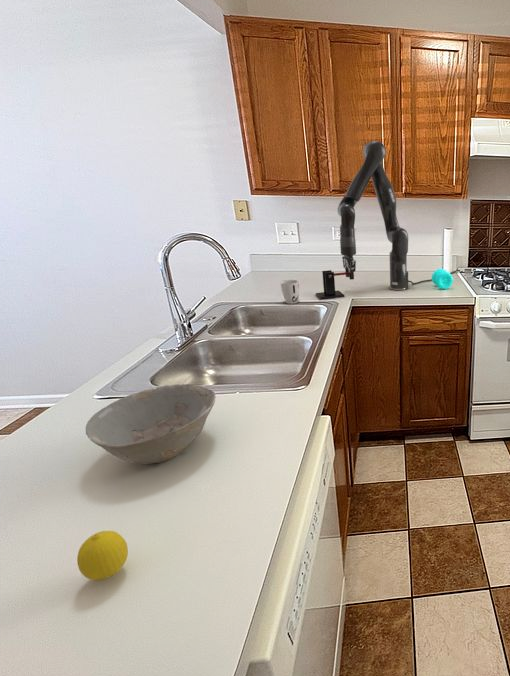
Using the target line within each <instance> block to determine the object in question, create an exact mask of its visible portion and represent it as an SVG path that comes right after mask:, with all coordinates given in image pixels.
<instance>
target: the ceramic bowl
mask: <svg viewBox="0 0 510 676" xmlns="http://www.w3.org/2000/svg"><path fill="white" fill-rule="evenodd" d="M215 402H216V392H214V390H213V389H209V387H204V386H203V385H199V384H190V383H186V384H184V383H182V384H170V385H164V386H163V385H162V386H158V387H155V389H154V388H150V389H145V390H142V391H139V392H136V393H131V394H129V395H126V396H124V397H122V398H119V399H117V400H116V401H113V402H111V403H109V404H108V405H107V406H104V407H103V408H101V409H100V410H98V411H97V412H95V413H94V414H93V415H92V416H91V417H90V418H89V419H88V420H87V422H86V424H85V435H86V436H87V438H88V439H89V440H90V441H91V442H92V443H94V445H97V446H98V447H101V449H103V450H105V452H107V453H109V454H111V455H112V456H113V457H115V458H116V459H120V460H122V461H126V462H128V463H129V462H130V463H134V464H141V465H149V464H156V463H163V462H168V461H169V460H171V459H174V458H175V457H176V456H177V455H179V454H180V453H181V452H182V451H183V450H185V449H186V448H187V447H188V446H189V445H191V443H192V442H193V441H194V440H195V439H196V438H197V437H198V436H199V435H200V434H201V433H202V431H203V429H204V426H205V424H206V422H207V419H208V416H209V415H210V413H211V411H212V409H213V407H214V405H215Z"/></svg>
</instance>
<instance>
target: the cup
mask: <svg viewBox="0 0 510 676" xmlns="http://www.w3.org/2000/svg"><path fill="white" fill-rule="evenodd" d="M280 288H281V293H282V295H283V298H284V301H285V303H286V304H289V305H290V304H292V305H293V304H297V303H298V302H299V297H300V281H299V280H297V279H286V280H282V281H280Z"/></svg>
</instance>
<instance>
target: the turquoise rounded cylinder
mask: <svg viewBox="0 0 510 676" xmlns="http://www.w3.org/2000/svg"><path fill="white" fill-rule="evenodd" d="M450 273H451V272H448V271H447V270H446V269H444V268H437V269H436V270H434V271H433V273H432V275H431V279H432V281H431V282H432V283H433V284H434V285H435V286H437V288H439V289H441V290H447V289H449V288H450V287H451V286H452V285H453V282H454V277H453V275H452V273H451V274H450Z"/></svg>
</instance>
